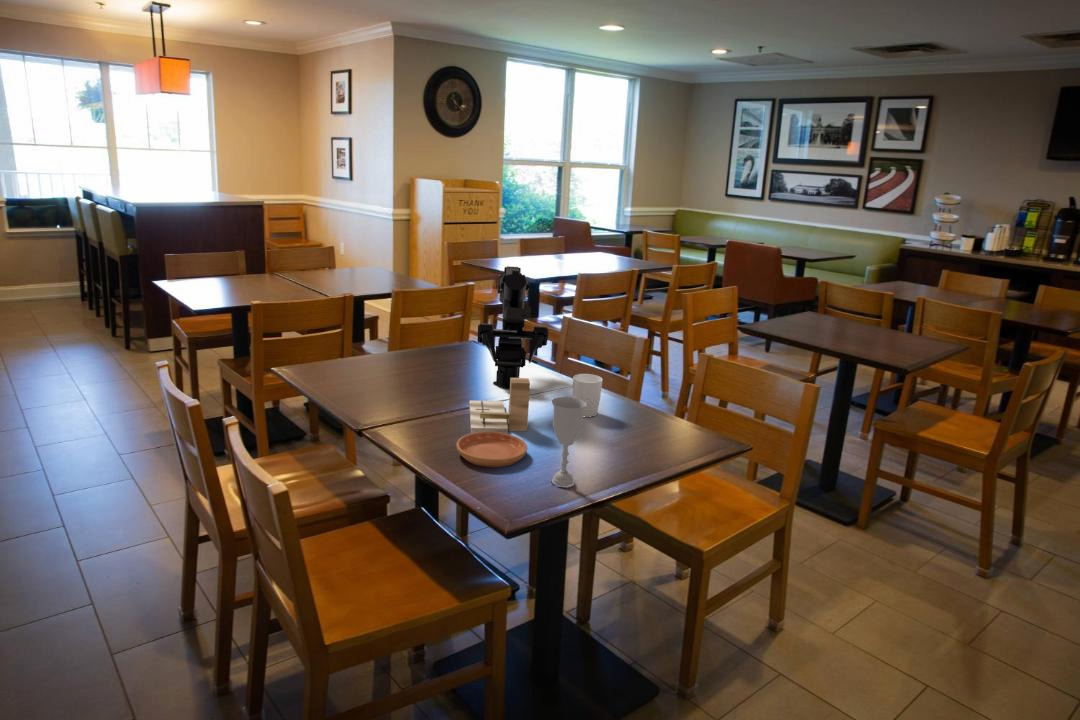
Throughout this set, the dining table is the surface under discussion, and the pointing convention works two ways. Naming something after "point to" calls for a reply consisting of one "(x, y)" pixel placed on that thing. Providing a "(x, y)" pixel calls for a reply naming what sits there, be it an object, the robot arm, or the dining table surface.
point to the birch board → (487, 424)
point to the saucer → (491, 448)
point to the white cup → (588, 392)
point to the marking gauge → (515, 406)
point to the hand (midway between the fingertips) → (512, 361)
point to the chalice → (566, 431)
